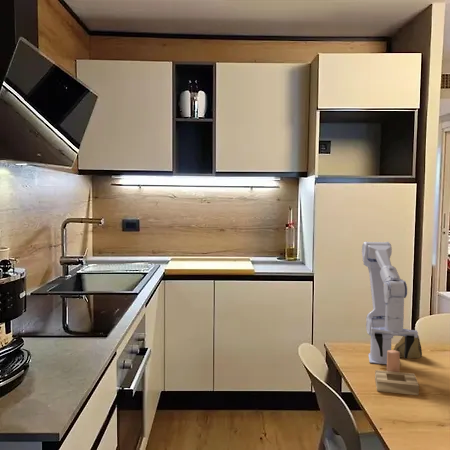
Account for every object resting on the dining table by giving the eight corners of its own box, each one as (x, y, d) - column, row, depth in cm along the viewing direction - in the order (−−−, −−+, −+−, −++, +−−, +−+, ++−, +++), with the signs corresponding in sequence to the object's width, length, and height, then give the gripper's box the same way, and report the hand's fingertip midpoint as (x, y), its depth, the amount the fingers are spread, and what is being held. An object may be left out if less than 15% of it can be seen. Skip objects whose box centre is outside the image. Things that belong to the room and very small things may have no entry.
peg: (386, 372, 162) (386, 349, 162) (398, 373, 161) (399, 350, 161) (387, 376, 159) (387, 353, 158) (399, 378, 158) (400, 354, 157)
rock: (387, 352, 177) (416, 353, 171) (389, 330, 181) (417, 331, 176) (396, 363, 184) (423, 364, 178) (397, 342, 188) (424, 343, 183)
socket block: (375, 379, 157) (375, 370, 156) (413, 382, 154) (414, 373, 154) (377, 391, 147) (377, 381, 147) (418, 395, 144) (418, 385, 144)
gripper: (372, 318, 157) (371, 358, 157) (419, 321, 153) (418, 362, 154) (371, 313, 164) (370, 352, 164) (416, 315, 160) (415, 355, 161)
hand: (393, 356), depth 160 cm, fingers open, 7 cm apart
